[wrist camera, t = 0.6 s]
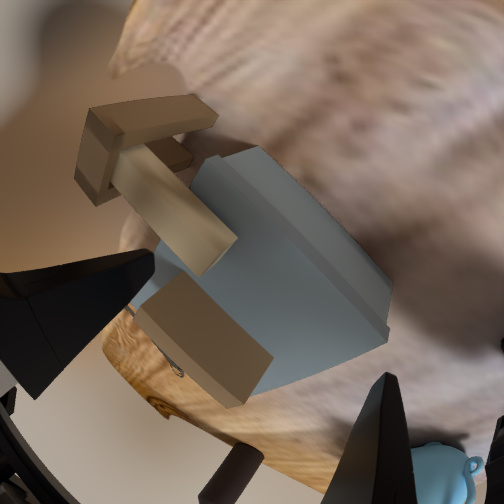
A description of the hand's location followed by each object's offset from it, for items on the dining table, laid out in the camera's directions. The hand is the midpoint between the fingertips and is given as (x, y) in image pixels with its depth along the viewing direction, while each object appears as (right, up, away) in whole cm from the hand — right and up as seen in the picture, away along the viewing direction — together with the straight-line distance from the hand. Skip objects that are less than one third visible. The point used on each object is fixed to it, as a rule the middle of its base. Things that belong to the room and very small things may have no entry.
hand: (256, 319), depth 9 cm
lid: (-2, -2, +13) cm, 13 cm away
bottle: (0, -39, +40) cm, 56 cm away
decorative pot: (+25, -27, +18) cm, 41 cm away
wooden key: (-5, +6, +8) cm, 11 cm away
